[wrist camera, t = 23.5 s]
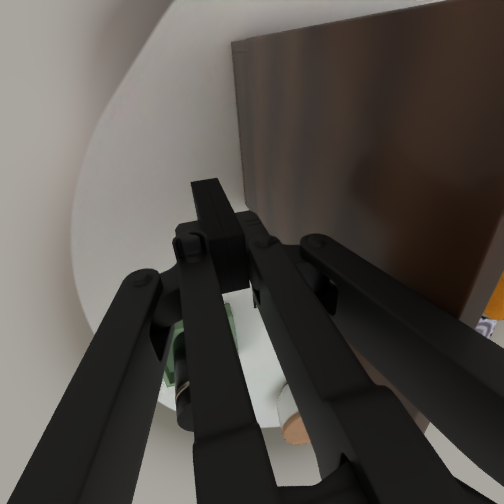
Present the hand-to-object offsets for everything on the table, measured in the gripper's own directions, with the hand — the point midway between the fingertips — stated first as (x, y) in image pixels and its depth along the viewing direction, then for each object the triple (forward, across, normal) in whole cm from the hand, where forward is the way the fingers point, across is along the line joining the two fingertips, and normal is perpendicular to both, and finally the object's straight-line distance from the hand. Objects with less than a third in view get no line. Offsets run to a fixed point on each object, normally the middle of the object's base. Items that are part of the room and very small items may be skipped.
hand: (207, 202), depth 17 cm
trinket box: (+16, +12, -48) cm, 52 cm away
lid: (-2, +6, 0) cm, 6 cm away
